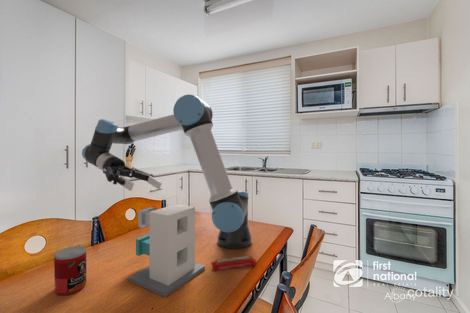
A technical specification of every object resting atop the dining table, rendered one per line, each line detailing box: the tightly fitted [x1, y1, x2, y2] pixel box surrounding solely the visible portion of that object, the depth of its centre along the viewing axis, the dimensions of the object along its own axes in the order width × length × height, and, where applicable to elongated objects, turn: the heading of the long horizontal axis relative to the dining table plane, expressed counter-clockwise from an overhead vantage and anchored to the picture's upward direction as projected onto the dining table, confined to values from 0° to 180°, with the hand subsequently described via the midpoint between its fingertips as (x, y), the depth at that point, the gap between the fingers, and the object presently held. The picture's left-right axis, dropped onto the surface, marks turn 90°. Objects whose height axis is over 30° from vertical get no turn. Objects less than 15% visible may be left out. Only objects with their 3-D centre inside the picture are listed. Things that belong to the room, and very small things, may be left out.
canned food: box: [53, 245, 87, 296], centre depth 70 cm, size 8×8×11 cm
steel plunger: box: [137, 206, 178, 229], centre depth 80 cm, size 14×6×6 cm, turn 60°
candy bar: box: [211, 255, 257, 271], centre depth 84 cm, size 16×4×3 cm, turn 106°
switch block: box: [128, 203, 206, 298], centre depth 78 cm, size 16×18×22 cm
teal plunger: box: [135, 233, 150, 257], centre depth 81 cm, size 14×6×6 cm, turn 60°
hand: (147, 186), depth 87 cm, fingers open, 13 cm apart
